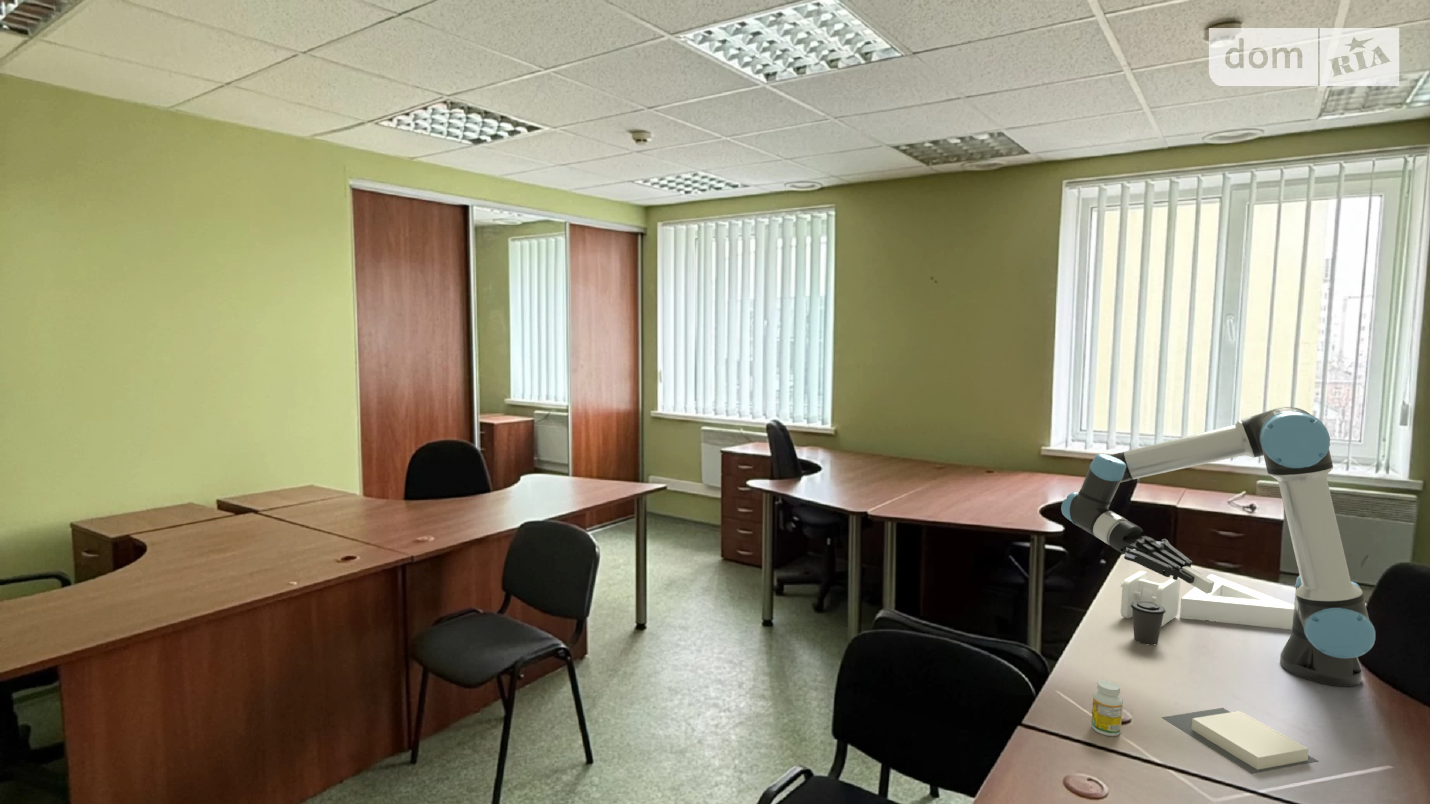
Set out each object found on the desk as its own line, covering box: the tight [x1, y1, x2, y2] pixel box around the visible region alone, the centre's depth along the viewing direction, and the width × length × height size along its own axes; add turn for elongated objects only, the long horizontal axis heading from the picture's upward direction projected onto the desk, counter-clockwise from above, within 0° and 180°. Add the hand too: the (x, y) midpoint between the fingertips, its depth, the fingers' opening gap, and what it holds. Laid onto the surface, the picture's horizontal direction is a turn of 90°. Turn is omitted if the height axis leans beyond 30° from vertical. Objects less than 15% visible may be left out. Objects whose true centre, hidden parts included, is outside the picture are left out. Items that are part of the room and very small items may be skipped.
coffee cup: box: [1130, 601, 1166, 646], centre depth 193 cm, size 8×8×10 cm
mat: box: [1161, 707, 1319, 775], centre depth 147 cm, size 20×16×1 cm
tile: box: [1192, 710, 1309, 770], centre depth 145 cm, size 2×12×14 cm
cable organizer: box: [1120, 570, 1181, 628], centre depth 208 cm, size 15×11×12 cm
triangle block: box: [1179, 573, 1294, 631], centre depth 216 cm, size 30×26×6 cm
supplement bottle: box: [1091, 679, 1124, 737], centre depth 151 cm, size 5×5×10 cm
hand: (1210, 587), depth 159 cm, fingers closed
